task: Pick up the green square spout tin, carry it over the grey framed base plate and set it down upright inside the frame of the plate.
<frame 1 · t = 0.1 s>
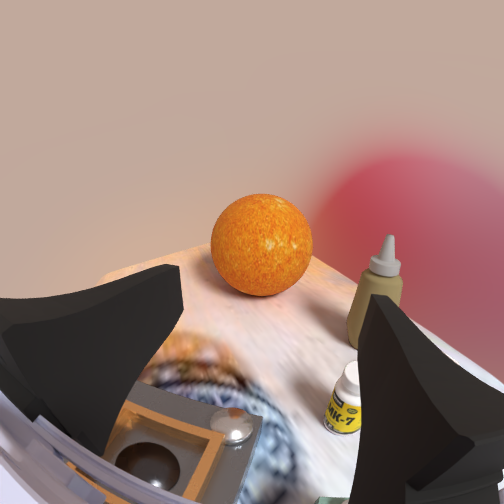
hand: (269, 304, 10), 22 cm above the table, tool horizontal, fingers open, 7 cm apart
supplement bottle: (342, 422, 26), on the table
decorative sphere: (259, 291, 58), on the table
grey framed base plate: (154, 480, 18), on the table
squeeze bottle: (365, 343, 41), on the table
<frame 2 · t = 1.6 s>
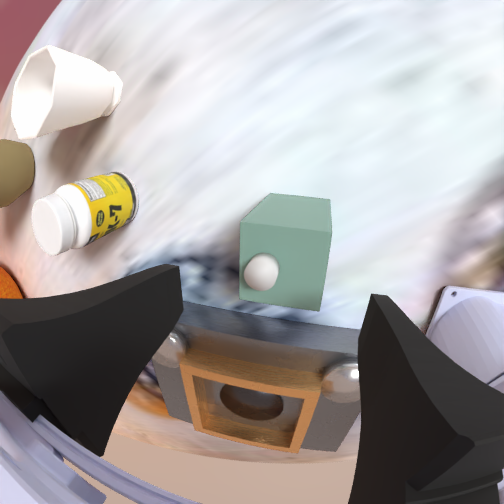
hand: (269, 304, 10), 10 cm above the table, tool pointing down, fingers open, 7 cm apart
supplement bottle: (121, 197, 22), on the table
decorative sphere: (17, 291, 35), on the table
grey framed base plate: (258, 379, 26), on the table
cup: (95, 101, 19), on the table
spout tin: (297, 224, 19), on the table
squeeze bottle: (26, 166, 24), on the table
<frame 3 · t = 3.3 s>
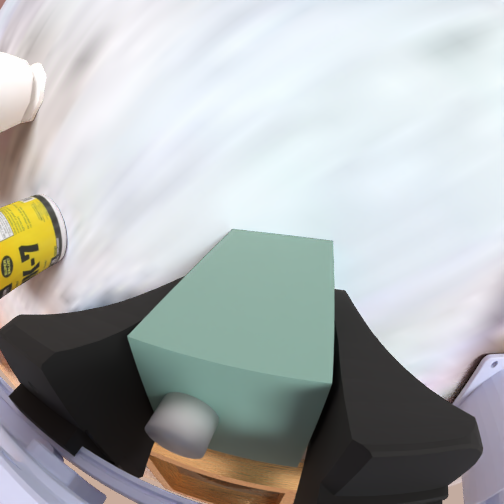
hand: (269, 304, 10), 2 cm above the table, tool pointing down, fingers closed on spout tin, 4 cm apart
supplement bottle: (50, 226, 15), on the table
grey framed base plate: (235, 444, 18), on the table
cup: (23, 103, 12), on the table
spout tin: (278, 279, 12), on the table, touching gripper
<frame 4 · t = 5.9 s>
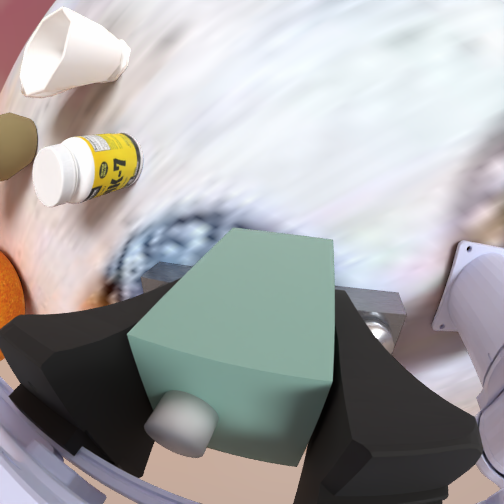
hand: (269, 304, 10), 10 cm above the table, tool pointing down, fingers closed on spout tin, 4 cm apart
supplement bottle: (125, 159, 21), on the table
decorative sphere: (15, 276, 34), on the table
grey framed base plate: (267, 353, 24), on the table
cup: (102, 69, 18), on the table
spout tin: (278, 278, 12), point 8 cm above the table, touching gripper
squeeze bottle: (29, 141, 23), on the table
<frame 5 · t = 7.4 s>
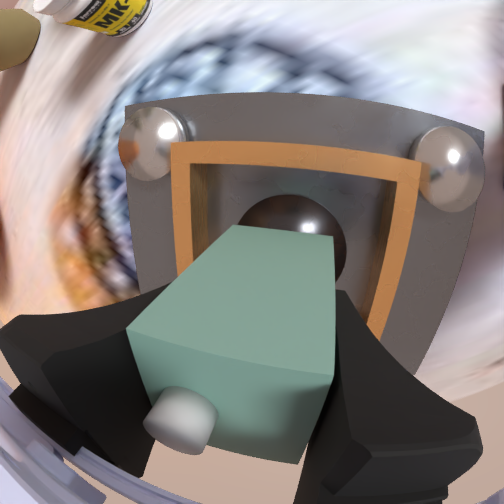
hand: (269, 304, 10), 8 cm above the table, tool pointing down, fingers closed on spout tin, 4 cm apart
supplement bottle: (131, 13, 13), on the table
grey framed base plate: (295, 232, 17), on the table
spout tin: (278, 275, 12), point 6 cm above the table, touching gripper
squeeze bottle: (29, 41, 16), on the table
when the fingers open (6 cm above the table, at t = 8.6 s): spout tin stays where it is, resting on grey framed base plate.
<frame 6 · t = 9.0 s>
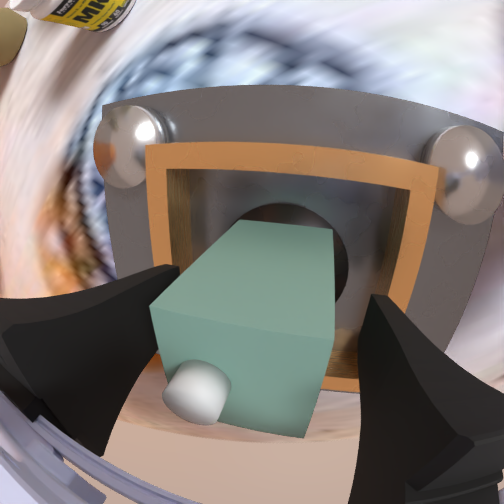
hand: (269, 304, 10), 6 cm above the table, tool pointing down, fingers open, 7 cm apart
supplement bottle: (115, 6, 12), on the table
grey framed base plate: (290, 244, 15), on the table
spout tin: (282, 266, 12), point 3 cm above the table, touching grey framed base plate
squeeze bottle: (17, 41, 14), on the table
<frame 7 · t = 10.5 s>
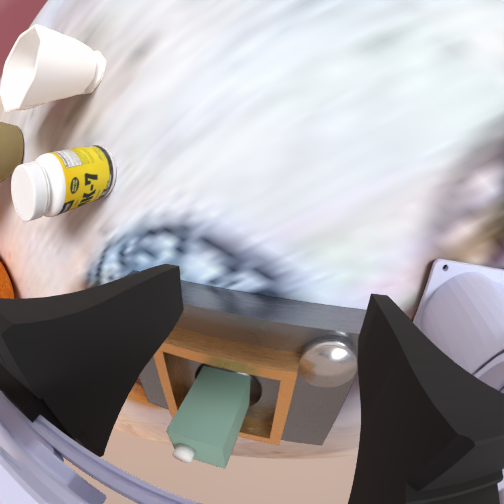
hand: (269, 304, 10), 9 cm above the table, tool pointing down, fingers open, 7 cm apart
supplement bottle: (100, 170, 21), on the table
decorative sphere: (6, 276, 34), on the table
grey framed base plate: (237, 362, 25), on the table
cup: (80, 80, 18), on the table
spout tin: (227, 386, 22), point 3 cm above the table, touching grey framed base plate
squeeze bottle: (16, 148, 23), on the table
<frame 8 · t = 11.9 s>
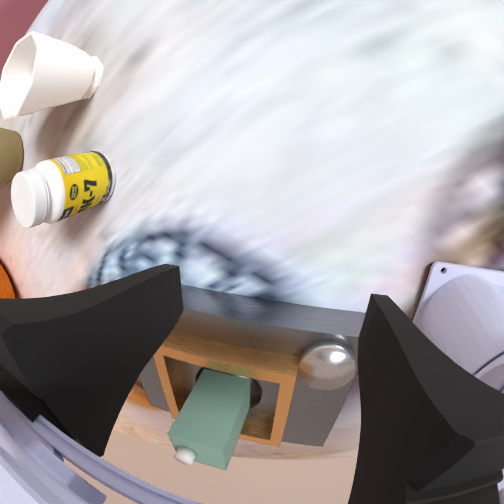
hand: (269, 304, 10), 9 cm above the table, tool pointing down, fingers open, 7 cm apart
supplement bottle: (99, 176, 21), on the table
decorative sphere: (8, 280, 35), on the table
grey framed base plate: (238, 365, 25), on the table
cup: (78, 86, 18), on the table
spout tin: (227, 388, 22), point 3 cm above the table, touching grey framed base plate
squeeze bottle: (16, 153, 23), on the table
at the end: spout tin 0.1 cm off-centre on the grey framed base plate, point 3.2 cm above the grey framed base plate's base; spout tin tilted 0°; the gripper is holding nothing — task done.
